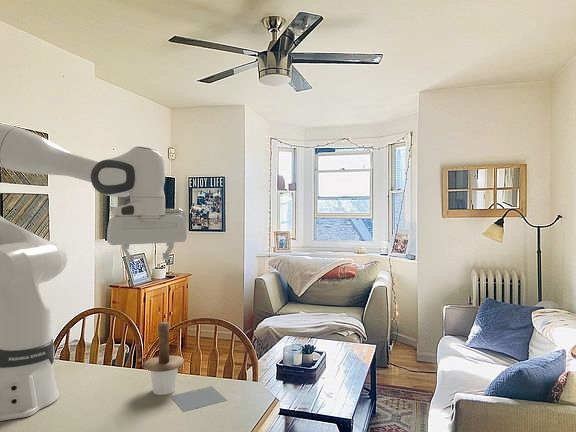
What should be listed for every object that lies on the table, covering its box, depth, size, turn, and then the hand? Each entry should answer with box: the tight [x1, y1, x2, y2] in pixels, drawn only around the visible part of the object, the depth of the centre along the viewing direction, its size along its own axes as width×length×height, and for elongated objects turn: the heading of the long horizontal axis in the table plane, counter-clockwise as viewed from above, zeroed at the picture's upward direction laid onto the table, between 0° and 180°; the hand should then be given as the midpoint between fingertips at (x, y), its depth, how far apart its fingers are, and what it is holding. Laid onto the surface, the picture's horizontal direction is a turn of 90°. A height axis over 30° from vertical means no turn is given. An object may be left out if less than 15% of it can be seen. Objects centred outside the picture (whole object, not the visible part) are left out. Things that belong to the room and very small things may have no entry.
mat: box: [169, 385, 228, 413], centre depth 106 cm, size 11×10×1 cm
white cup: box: [150, 368, 179, 396], centre depth 111 cm, size 7×7×7 cm
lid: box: [143, 321, 185, 372], centre depth 110 cm, size 10×10×11 cm
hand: (148, 260), depth 115 cm, fingers open, 8 cm apart
